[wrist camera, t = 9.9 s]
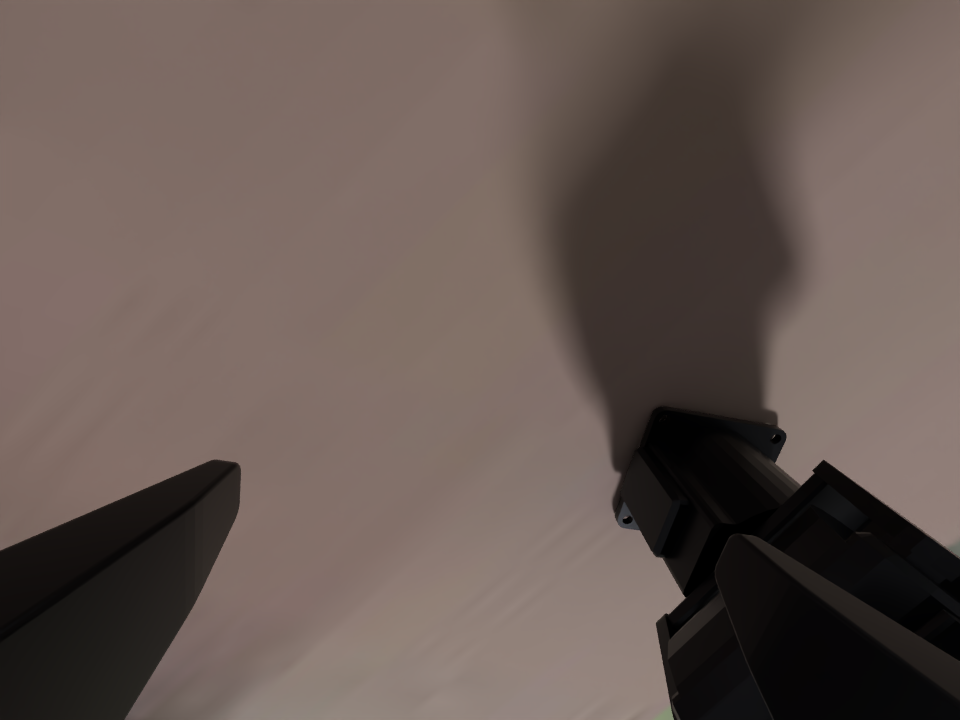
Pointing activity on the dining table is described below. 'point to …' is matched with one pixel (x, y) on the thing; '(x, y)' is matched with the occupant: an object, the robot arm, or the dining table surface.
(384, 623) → the dining table surface
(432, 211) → the dining table surface
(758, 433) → the robot arm
